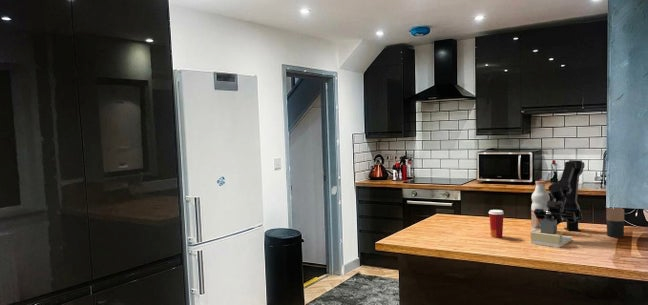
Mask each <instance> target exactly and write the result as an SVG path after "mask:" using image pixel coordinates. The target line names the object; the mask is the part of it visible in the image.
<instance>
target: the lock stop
mask: <svg viewBox="0 0 648 305" xmlns="http://www.w3.org/2000/svg"><path fill="white" fill-rule="evenodd" d="M540 221H541V233H547V234H556V233H557V232H558V225H557V220H556V219H554V218H553V219H547V218H543V219H541V220H540Z"/></svg>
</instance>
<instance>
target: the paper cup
mask: <svg viewBox="0 0 648 305" xmlns="http://www.w3.org/2000/svg"><path fill="white" fill-rule="evenodd" d="M488 214H489V226H490V236H491V238H493V239H495V238H496V239H500V238H503V231H504V230H503V229H504V214H505V212H504V210H502V209H490V210H489V211H488Z"/></svg>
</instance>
